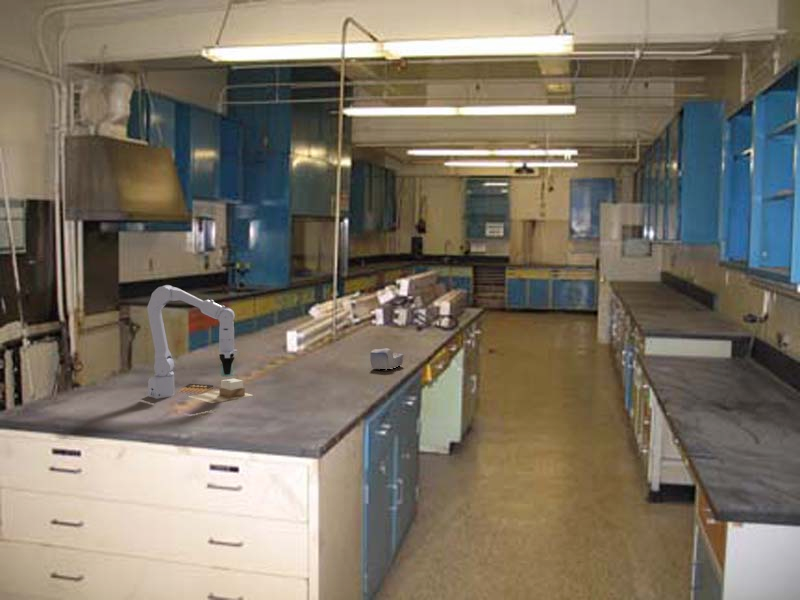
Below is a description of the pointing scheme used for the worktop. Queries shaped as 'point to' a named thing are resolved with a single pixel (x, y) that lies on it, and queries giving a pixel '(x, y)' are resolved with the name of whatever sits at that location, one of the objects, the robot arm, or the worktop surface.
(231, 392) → the tower base
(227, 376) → the teal piece
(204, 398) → the birch board
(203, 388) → the ammunition clip
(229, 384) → the tower top
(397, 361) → the grey stepped block
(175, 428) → the worktop surface
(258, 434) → the worktop surface
